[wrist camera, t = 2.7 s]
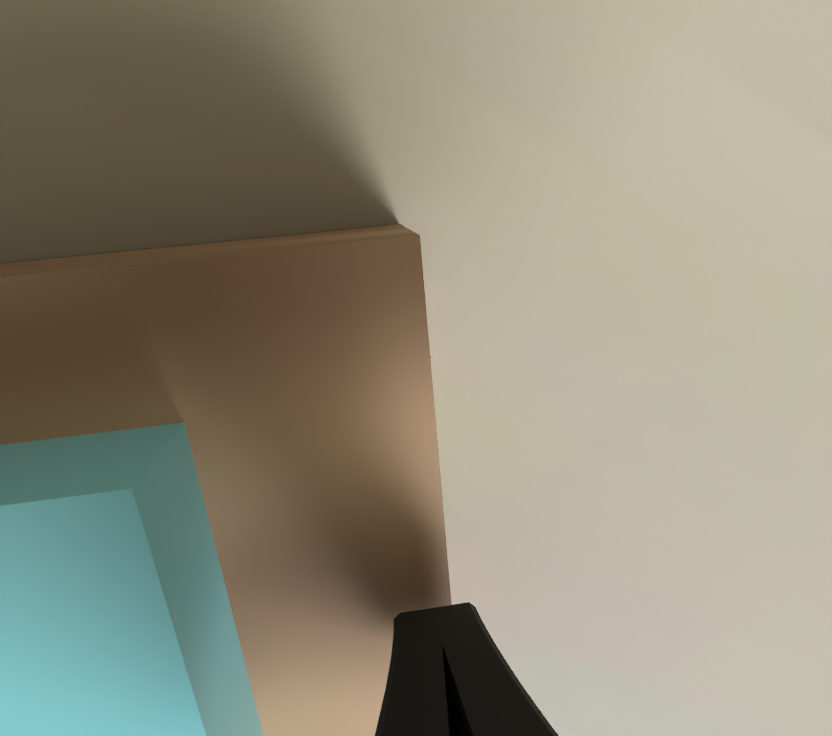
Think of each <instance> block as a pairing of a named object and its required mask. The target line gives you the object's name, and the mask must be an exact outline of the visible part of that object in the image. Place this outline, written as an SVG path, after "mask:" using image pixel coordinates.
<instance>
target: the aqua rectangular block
mask: <svg viewBox="0 0 832 736" xmlns="http://www.w3.org/2000/svg"><path fill="white" fill-rule="evenodd" d="M0 736H264V735H263V732H262V728H261V724H260V720H259V716H258V712H257V708H256V704H255V700H254V696H253V692H252V688H251V684H250V680H249V676H248V672H247V669H246V665H245V661H244V657H243V653H242V649H241V645H240V641H239V637H238V633H237V629H236V625H235V621H234V617H233V613H232V609H231V606H230V602H229V598H228V594H227V590H226V586H225V582H224V578H223V574H222V570H221V566H220V562H219V558H218V554H217V550H216V546H215V543H214V539H213V535H212V531H211V527H210V523H209V519H208V515H207V511H206V507H205V503H204V499H203V495H202V491H201V487H200V483H199V480H198V476H197V472H196V468H195V464H194V460H193V456H192V452H191V448H190V444H189V440H188V436H187V432H186V428H185V424H184V422H183V423H175V424H167V425H158V426H150V427H142V428H134V429H126V430H118V431H110V432H101V433H93V434H85V435H77V436H69V437H61V438H53V439H45V440H36V441H28V442H20V443H12V444H4V445H0Z"/></svg>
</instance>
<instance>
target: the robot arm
mask: <svg viewBox="0 0 832 736" xmlns="http://www.w3.org/2000/svg"><path fill="white" fill-rule="evenodd" d="M375 736H558V734H557V733H556V732H555V730H554V729H553V728H552V726H551V725H550V724H549V723H548V721H547V720H546V718H545V717H544V716H543V714H542V713H541V711H540V710H539V709H538V707H537V706H536V704H535V703H534V702H533V700H532V699H531V697H530V696H529V695H528V693H527V692H526V690H525V689H524V688H523V686H522V685H521V683H520V682H519V680H518V679H517V677H516V676H515V674H514V673H513V671H512V670H511V668H510V667H509V665H508V664H507V662H506V660H505V659H504V657H503V656H502V654H501V653H500V651H499V649H498V648H497V646H496V644H495V643H494V641H493V639H492V638H491V636H490V634H489V633H488V631H487V629H486V627H485V625H484V623H483V622H482V620H481V618H480V616H479V614H478V612H477V610H476V607H475V606H473V605H472V604H470V603H469V602H468V603H462V604H455V605H448V606H442V607H435V608H429V609H422V610H415V611H409V612H402V613H399V614H398V615H397V616H396V617H395V618H394V632H393V644H392V653H391V660H390V667H389V672H388V678H387V683H386V689H385V693H384V698H383V702H382V706H381V711H380V715H379V720H378V724H377V728H376V733H375Z"/></svg>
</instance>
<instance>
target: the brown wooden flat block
mask: <svg viewBox="0 0 832 736" xmlns="http://www.w3.org/2000/svg"><path fill="white" fill-rule="evenodd" d="M183 422H184V424H185V428H186V432H187V436H188V440H189V444H190V448H191V452H192V456H193V460H194V464H195V468H196V472H197V476H198V480H199V483H200V487H201V491H202V495H203V499H204V503H205V507H206V511H207V515H208V519H209V523H210V527H211V531H212V535H213V539H214V543H215V546H216V550H217V554H218V558H219V562H220V566H221V570H222V574H223V578H224V582H225V586H226V590H227V594H228V598H229V602H230V606H231V609H232V613H233V617H234V621H235V625H236V629H237V633H238V637H239V641H240V645H241V649H242V653H243V657H244V661H245V665H246V669H247V672H248V676H249V680H250V684H251V688H252V692H253V696H254V700H255V704H256V708H257V712H258V716H259V720H260V724H261V728H262V732H263V735H264V736H375V733H376V728H377V724H378V720H379V715H380V711H381V706H382V702H383V698H384V693H385V689H386V683H387V678H388V672H389V667H390V660H391V653H392V644H393V632H394V618H395V617H396V616H397V615H398V614H399V613H402V612H409V611H415V610H422V609H429V608H435V607H442V606H448V605H451V595H450V583H449V571H448V560H447V548H446V536H445V525H444V513H443V502H442V490H441V478H440V467H439V455H438V443H437V432H436V420H435V408H434V397H433V385H432V373H431V362H430V350H429V339H428V327H427V315H426V304H425V292H424V280H423V269H422V257H421V245H420V235H418V234H416V233H414V232H413V231H411V230H409V229H408V228H406V227H404V226H402V225H401V224H393V225H383V226H373V227H363V228H353V229H343V230H333V231H323V232H313V233H303V234H293V235H283V236H273V237H263V238H253V239H242V240H232V241H222V242H212V243H202V244H192V245H182V246H172V247H162V248H152V249H142V250H132V251H122V252H112V253H102V254H92V255H81V256H71V257H61V258H51V259H41V260H31V261H21V262H11V263H1V264H0V445H4V444H12V443H20V442H28V441H36V440H45V439H53V438H61V437H69V436H77V435H85V434H93V433H101V432H110V431H118V430H126V429H134V428H142V427H150V426H158V425H167V424H175V423H183Z"/></svg>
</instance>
